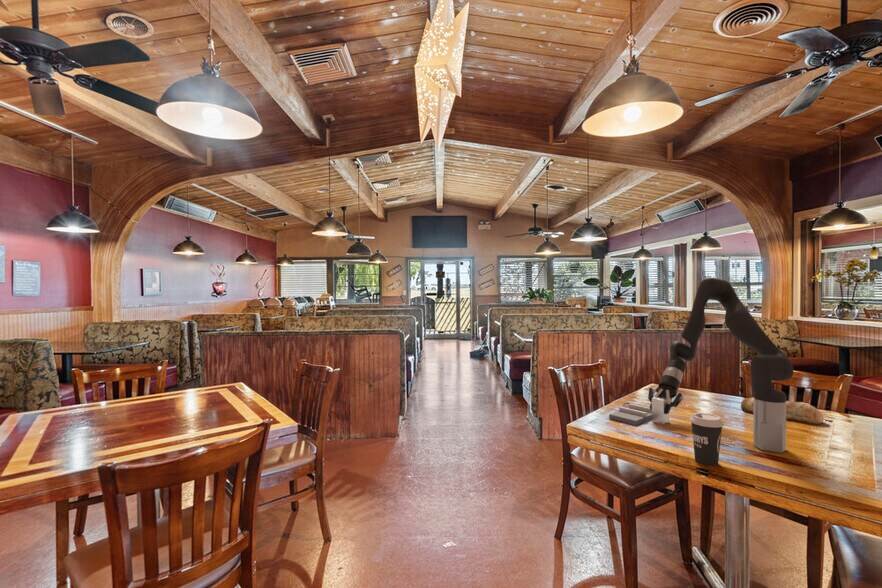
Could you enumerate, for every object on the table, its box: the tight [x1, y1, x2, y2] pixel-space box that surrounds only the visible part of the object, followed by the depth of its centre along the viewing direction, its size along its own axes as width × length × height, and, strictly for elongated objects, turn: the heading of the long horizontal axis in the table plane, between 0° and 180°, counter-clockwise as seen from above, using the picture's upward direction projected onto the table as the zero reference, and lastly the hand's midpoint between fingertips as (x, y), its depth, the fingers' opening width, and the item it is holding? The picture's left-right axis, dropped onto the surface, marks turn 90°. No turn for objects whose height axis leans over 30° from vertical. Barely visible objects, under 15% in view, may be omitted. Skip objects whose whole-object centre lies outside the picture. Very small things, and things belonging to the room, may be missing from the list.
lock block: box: [651, 396, 670, 425], centre depth 181 cm, size 5×5×10 cm
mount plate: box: [608, 403, 652, 426], centre depth 189 cm, size 12×26×4 cm, turn 128°
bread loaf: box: [740, 396, 834, 425], centre depth 188 cm, size 35×18×9 cm, turn 50°
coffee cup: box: [689, 412, 725, 467], centre depth 139 cm, size 10×10×15 cm
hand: (658, 411), depth 180 cm, fingers closed on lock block, 5 cm apart
